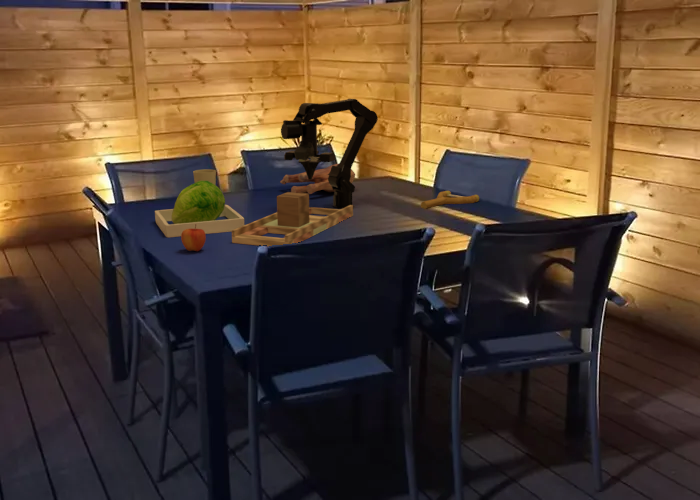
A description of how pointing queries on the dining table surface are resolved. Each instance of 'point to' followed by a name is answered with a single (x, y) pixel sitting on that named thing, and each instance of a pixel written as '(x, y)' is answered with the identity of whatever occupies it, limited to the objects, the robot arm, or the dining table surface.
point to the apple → (193, 239)
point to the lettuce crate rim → (199, 223)
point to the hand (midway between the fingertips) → (310, 179)
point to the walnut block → (293, 209)
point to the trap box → (292, 234)
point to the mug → (205, 175)
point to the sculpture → (318, 177)
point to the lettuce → (198, 203)
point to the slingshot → (449, 200)
